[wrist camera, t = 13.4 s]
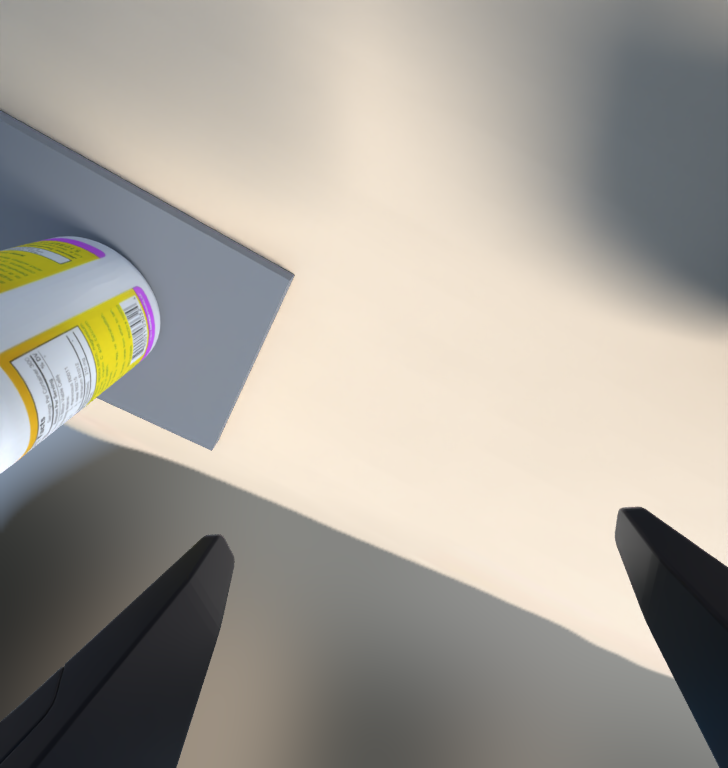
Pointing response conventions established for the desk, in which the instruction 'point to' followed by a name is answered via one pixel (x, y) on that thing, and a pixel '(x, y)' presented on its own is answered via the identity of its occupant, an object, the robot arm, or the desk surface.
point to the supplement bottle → (65, 333)
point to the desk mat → (151, 279)
